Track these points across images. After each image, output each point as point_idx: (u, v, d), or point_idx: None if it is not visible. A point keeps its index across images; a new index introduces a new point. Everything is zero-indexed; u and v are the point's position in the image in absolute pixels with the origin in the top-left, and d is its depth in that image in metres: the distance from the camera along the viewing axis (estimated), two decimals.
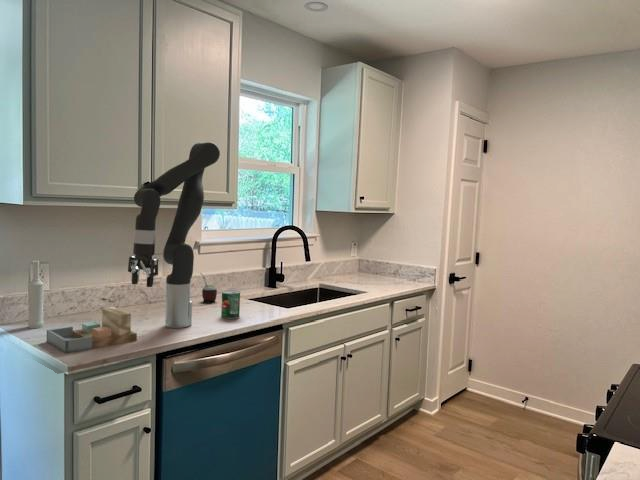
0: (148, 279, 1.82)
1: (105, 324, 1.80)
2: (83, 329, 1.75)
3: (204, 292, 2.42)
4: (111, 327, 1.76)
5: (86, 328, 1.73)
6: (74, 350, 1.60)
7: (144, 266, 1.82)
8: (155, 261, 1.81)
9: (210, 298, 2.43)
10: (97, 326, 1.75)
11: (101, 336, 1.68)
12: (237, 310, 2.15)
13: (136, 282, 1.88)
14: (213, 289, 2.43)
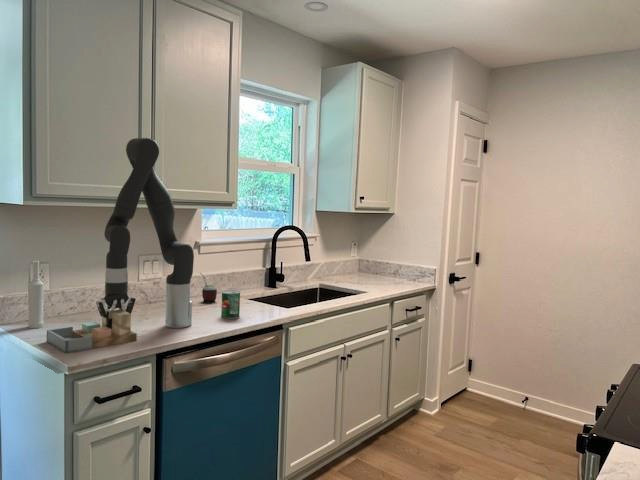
0: None
1: (105, 324, 1.80)
2: (83, 329, 1.75)
3: (204, 292, 2.42)
4: None
5: (86, 328, 1.73)
6: (74, 350, 1.60)
7: (124, 305, 1.78)
8: None
9: (210, 298, 2.43)
10: (97, 326, 1.75)
11: (101, 336, 1.68)
12: (237, 310, 2.15)
13: None
14: (213, 289, 2.43)
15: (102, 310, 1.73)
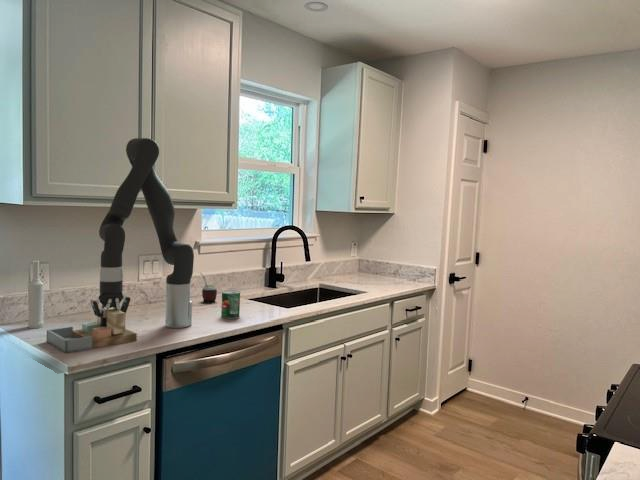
0: None
1: (100, 323, 1.78)
2: (83, 329, 1.75)
3: (204, 292, 2.42)
4: None
5: (86, 328, 1.73)
6: (74, 350, 1.60)
7: (119, 304, 1.77)
8: None
9: (210, 298, 2.43)
10: (97, 326, 1.75)
11: (101, 336, 1.68)
12: (237, 310, 2.15)
13: None
14: (213, 289, 2.43)
15: (96, 309, 1.71)
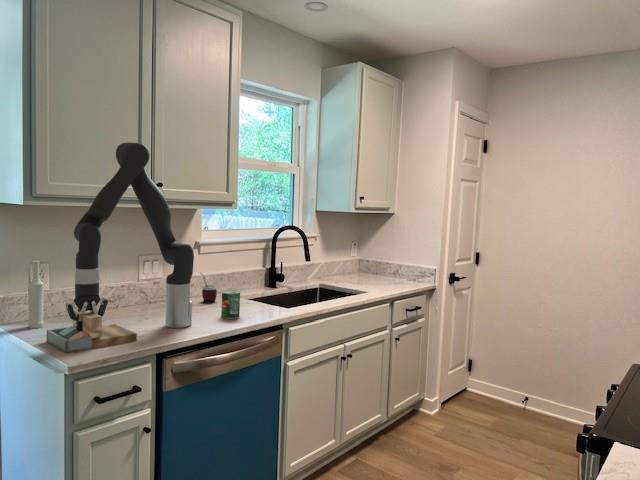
0: None
1: None
2: None
3: (204, 292, 2.42)
4: None
5: (64, 337, 1.68)
6: (74, 350, 1.60)
7: None
8: None
9: (210, 298, 2.43)
10: (74, 331, 1.70)
11: None
12: (237, 310, 2.15)
13: None
14: (213, 289, 2.43)
15: (71, 313, 1.65)
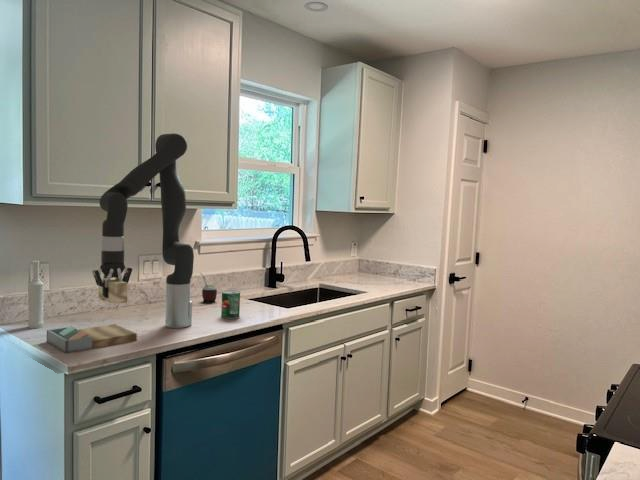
0: None
1: (101, 294, 1.78)
2: None
3: (204, 292, 2.42)
4: None
5: (64, 337, 1.68)
6: (74, 350, 1.60)
7: (121, 275, 1.76)
8: None
9: (210, 298, 2.43)
10: (74, 331, 1.70)
11: None
12: (237, 310, 2.15)
13: None
14: (213, 289, 2.43)
15: (98, 278, 1.71)
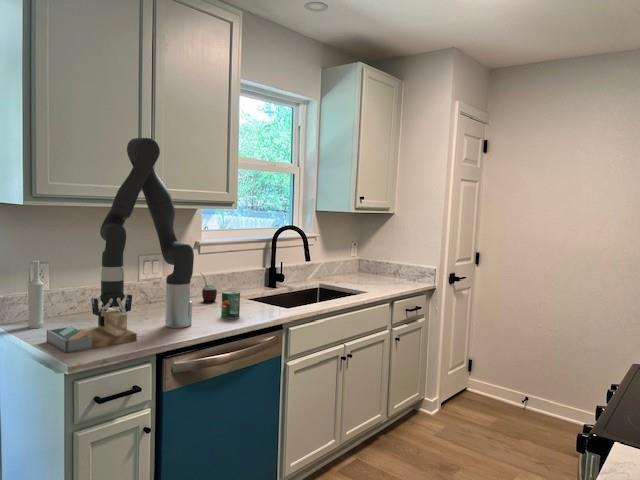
0: None
1: None
2: None
3: (204, 292, 2.42)
4: (107, 328, 1.75)
5: (64, 337, 1.68)
6: (74, 350, 1.60)
7: (121, 303, 1.77)
8: None
9: (210, 298, 2.43)
10: (74, 331, 1.70)
11: None
12: (237, 310, 2.15)
13: None
14: (213, 289, 2.43)
15: (96, 307, 1.71)
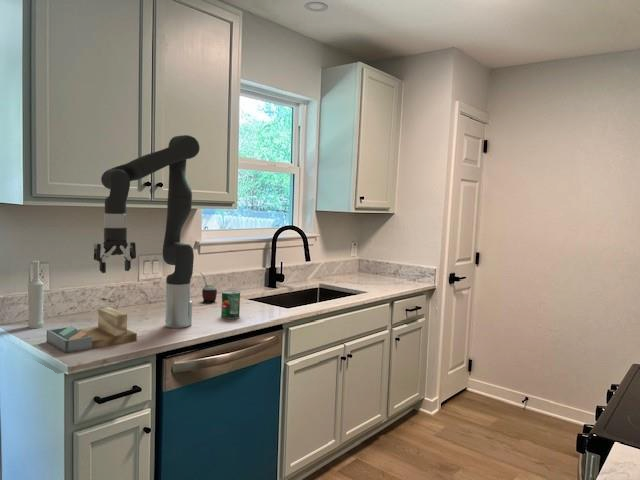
0: (129, 263, 1.79)
1: (101, 325, 1.78)
2: None
3: (204, 292, 2.42)
4: (107, 328, 1.75)
5: (64, 337, 1.68)
6: (74, 350, 1.60)
7: (125, 250, 1.77)
8: None
9: (210, 298, 2.43)
10: (74, 331, 1.70)
11: None
12: (237, 310, 2.15)
13: None
14: (213, 289, 2.43)
15: (98, 252, 1.70)
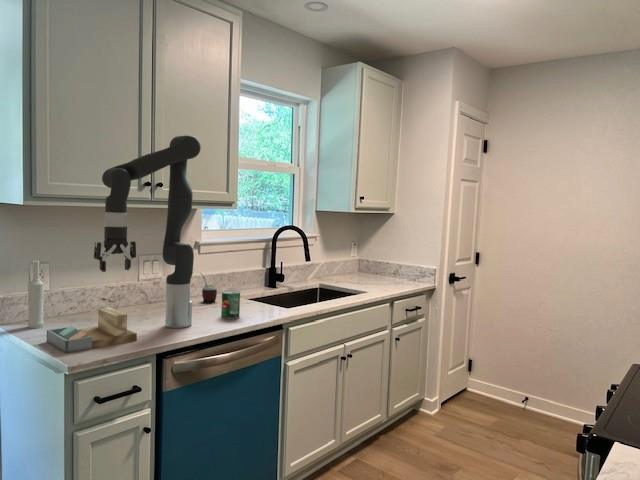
0: (129, 262, 1.79)
1: (101, 325, 1.78)
2: None
3: (204, 292, 2.42)
4: (107, 328, 1.75)
5: (64, 337, 1.68)
6: (74, 350, 1.60)
7: (125, 249, 1.77)
8: None
9: (210, 298, 2.43)
10: (74, 331, 1.70)
11: None
12: (237, 310, 2.15)
13: None
14: (213, 289, 2.43)
15: (98, 251, 1.70)
